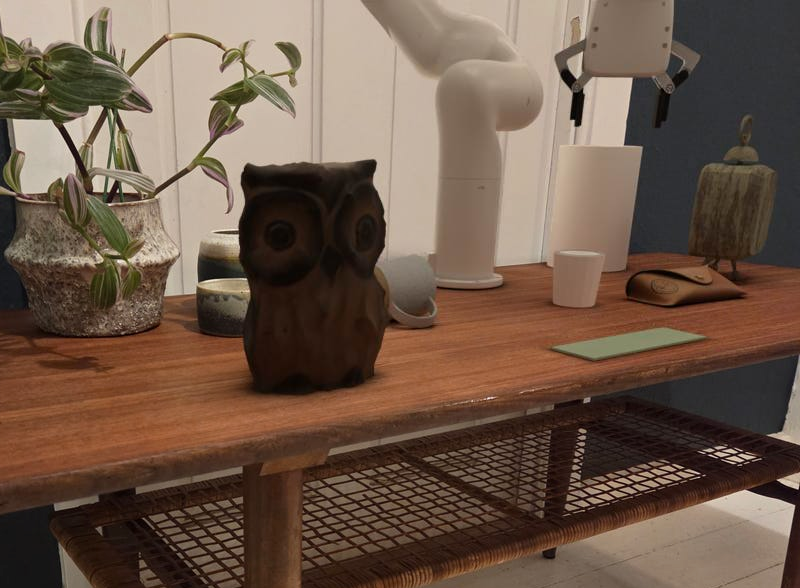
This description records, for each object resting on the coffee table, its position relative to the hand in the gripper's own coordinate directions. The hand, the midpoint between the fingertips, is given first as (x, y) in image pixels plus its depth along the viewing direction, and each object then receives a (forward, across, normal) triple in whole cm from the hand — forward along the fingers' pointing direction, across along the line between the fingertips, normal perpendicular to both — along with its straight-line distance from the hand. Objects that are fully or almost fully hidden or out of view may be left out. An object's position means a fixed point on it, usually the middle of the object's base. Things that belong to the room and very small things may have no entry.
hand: (616, 127), depth 112 cm
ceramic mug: (+23, +25, +16) cm, 37 cm away
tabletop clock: (+23, -23, -31) cm, 45 cm away
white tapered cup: (+23, +2, -2) cm, 23 cm away
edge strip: (+23, -2, +22) cm, 32 cm away
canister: (+23, -2, -40) cm, 46 cm away
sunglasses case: (+23, -14, -11) cm, 29 cm away
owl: (+23, +31, +44) cm, 59 cm away
